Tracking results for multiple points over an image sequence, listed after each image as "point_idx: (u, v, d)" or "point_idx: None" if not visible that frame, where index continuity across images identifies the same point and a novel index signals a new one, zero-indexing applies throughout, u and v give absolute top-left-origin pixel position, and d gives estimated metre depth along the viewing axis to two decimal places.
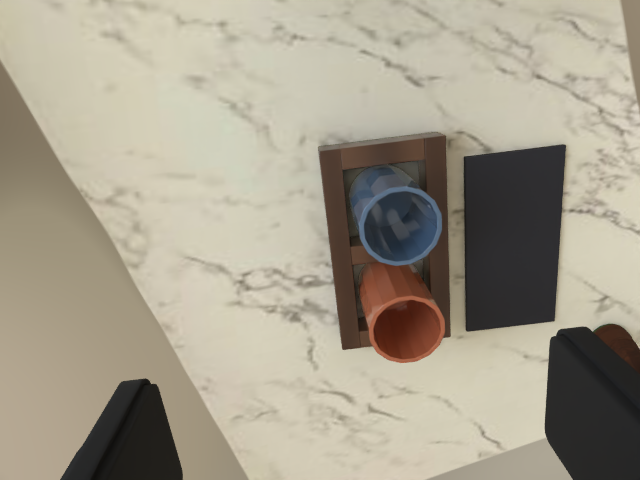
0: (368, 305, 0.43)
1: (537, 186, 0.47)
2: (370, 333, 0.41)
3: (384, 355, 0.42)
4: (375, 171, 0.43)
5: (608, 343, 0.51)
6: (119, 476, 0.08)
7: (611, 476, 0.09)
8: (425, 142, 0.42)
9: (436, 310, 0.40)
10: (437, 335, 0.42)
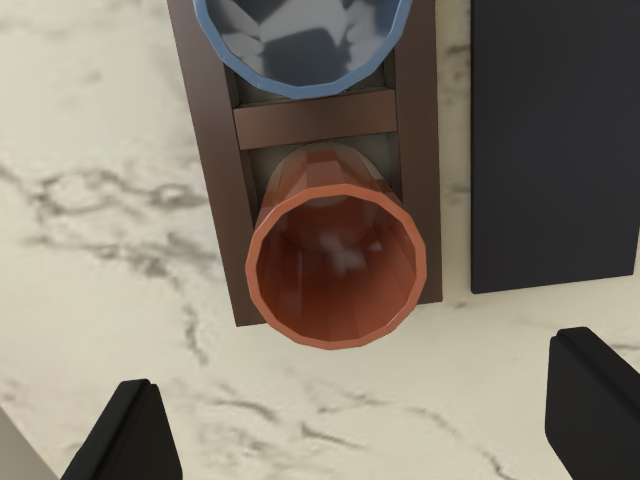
0: None
1: None
2: (250, 280, 0.17)
3: (287, 333, 0.18)
4: None
5: None
6: (119, 476, 0.08)
7: (611, 476, 0.09)
8: None
9: (405, 222, 0.17)
10: (409, 286, 0.18)
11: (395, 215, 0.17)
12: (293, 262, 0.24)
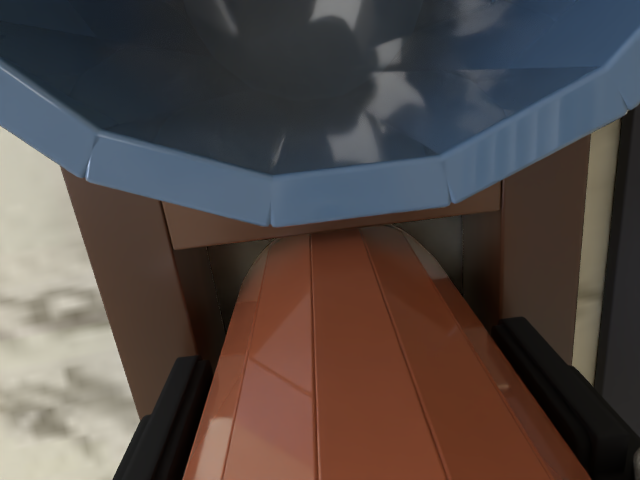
0: None
1: None
2: None
3: None
4: None
5: None
6: (187, 439, 0.09)
7: None
8: None
9: None
10: None
11: None
12: None
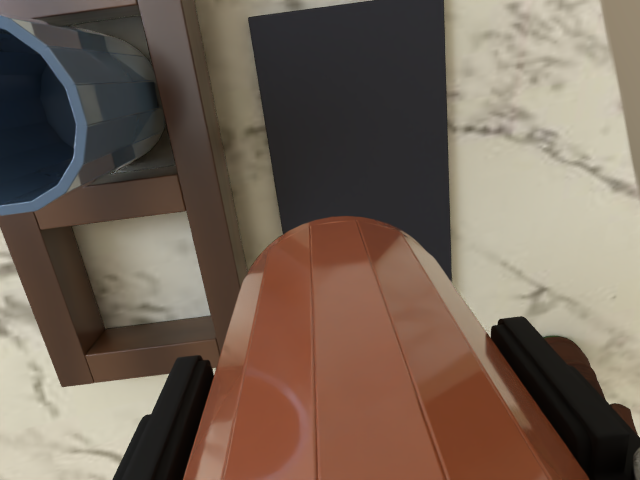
0: None
1: (396, 78, 0.25)
2: None
3: None
4: None
5: None
6: (188, 440, 0.09)
7: None
8: None
9: None
10: None
11: None
12: None
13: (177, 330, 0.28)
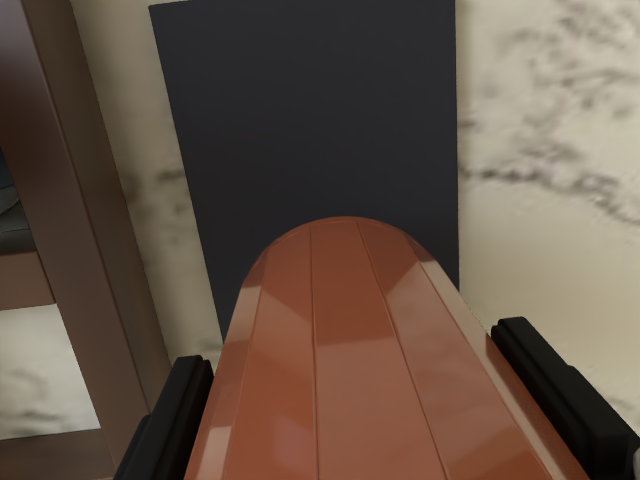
0: None
1: (381, 101, 0.16)
2: None
3: None
4: None
5: None
6: (187, 439, 0.09)
7: None
8: None
9: None
10: None
11: None
12: None
13: (70, 453, 0.20)
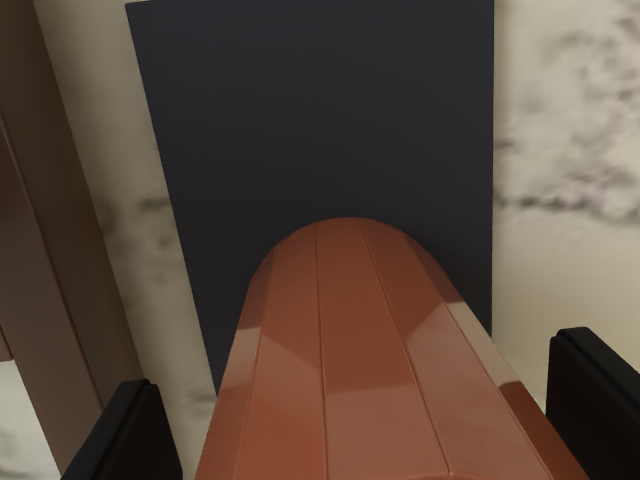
0: None
1: (404, 117, 0.13)
2: None
3: None
4: None
5: None
6: (119, 476, 0.08)
7: (611, 476, 0.09)
8: None
9: None
10: None
11: None
12: None
13: None
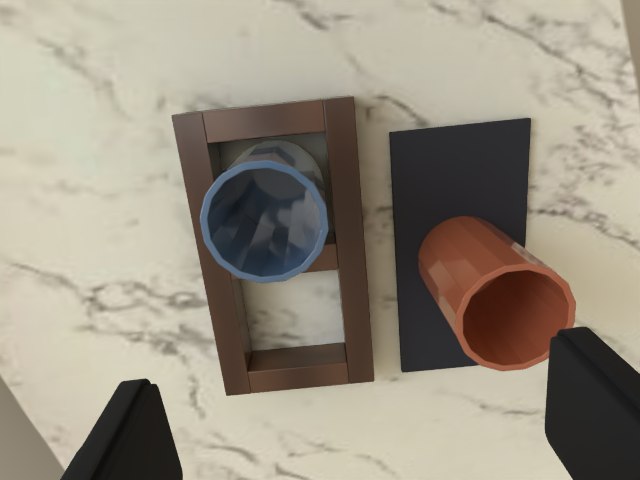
0: (449, 281, 0.28)
1: (492, 176, 0.34)
2: (458, 323, 0.26)
3: (476, 358, 0.27)
4: (255, 147, 0.30)
5: None
6: (119, 476, 0.08)
7: (611, 476, 0.09)
8: (324, 106, 0.29)
9: (565, 288, 0.26)
10: None
11: (558, 283, 0.26)
12: None
13: (313, 354, 0.37)
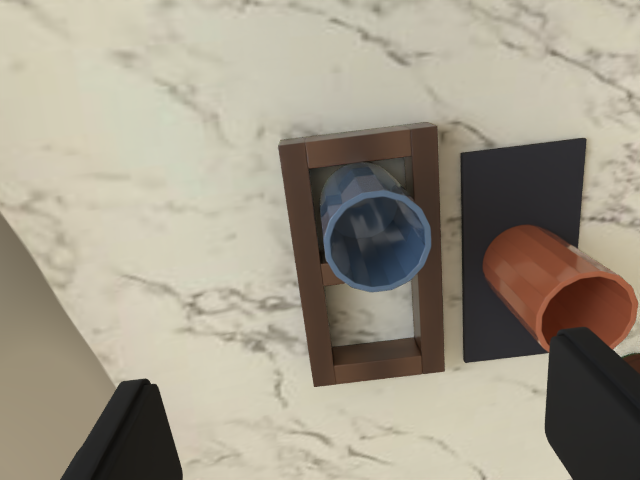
0: (525, 286, 0.33)
1: (551, 189, 0.38)
2: (537, 322, 0.31)
3: None
4: (349, 171, 0.35)
5: None
6: (119, 476, 0.08)
7: (611, 476, 0.09)
8: (412, 134, 0.34)
9: (629, 291, 0.30)
10: (622, 325, 0.32)
11: (624, 287, 0.30)
12: None
13: (388, 348, 0.42)
